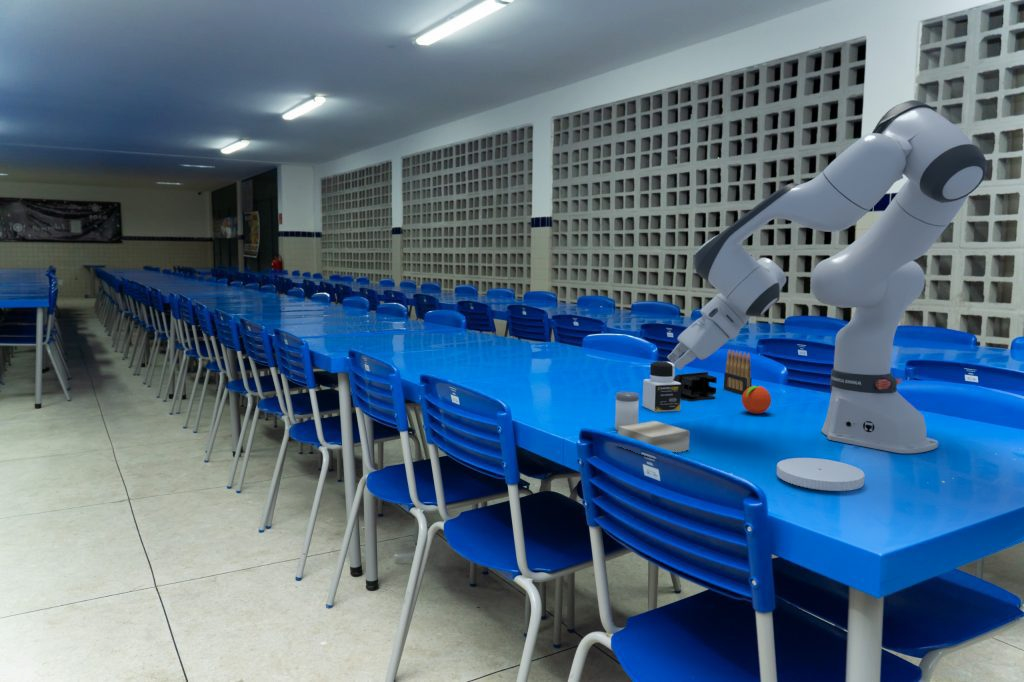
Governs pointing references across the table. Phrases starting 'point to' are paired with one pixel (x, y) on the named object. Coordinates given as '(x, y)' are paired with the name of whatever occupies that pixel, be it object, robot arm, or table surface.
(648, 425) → the plinth
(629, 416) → the salt shaker
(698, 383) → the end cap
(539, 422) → the table surface
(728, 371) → the ammunition clip
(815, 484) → the plastic lid
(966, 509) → the table surface
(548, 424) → the table surface
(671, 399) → the medicine bottle
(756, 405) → the clementine
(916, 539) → the table surface
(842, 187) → the robot arm
